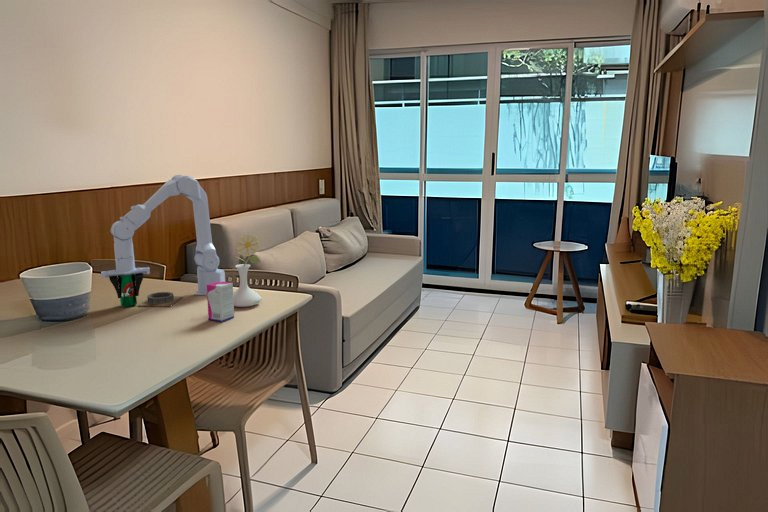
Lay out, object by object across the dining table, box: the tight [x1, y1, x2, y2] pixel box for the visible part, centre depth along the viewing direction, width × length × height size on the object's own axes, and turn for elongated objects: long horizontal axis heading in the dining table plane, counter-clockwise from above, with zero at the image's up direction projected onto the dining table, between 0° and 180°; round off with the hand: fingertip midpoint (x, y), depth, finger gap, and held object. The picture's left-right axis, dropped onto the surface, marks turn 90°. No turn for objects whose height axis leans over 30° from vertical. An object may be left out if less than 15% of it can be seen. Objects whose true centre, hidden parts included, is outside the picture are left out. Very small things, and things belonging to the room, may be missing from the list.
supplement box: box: [206, 281, 235, 323], centre depth 165 cm, size 6×6×12 cm
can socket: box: [137, 291, 184, 308], centre depth 183 cm, size 11×11×2 cm
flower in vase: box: [233, 233, 262, 308], centre depth 178 cm, size 13×11×25 cm
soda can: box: [117, 273, 138, 308], centre depth 177 cm, size 5×5×12 cm
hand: (128, 296), depth 178 cm, fingers closed on soda can, 5 cm apart
